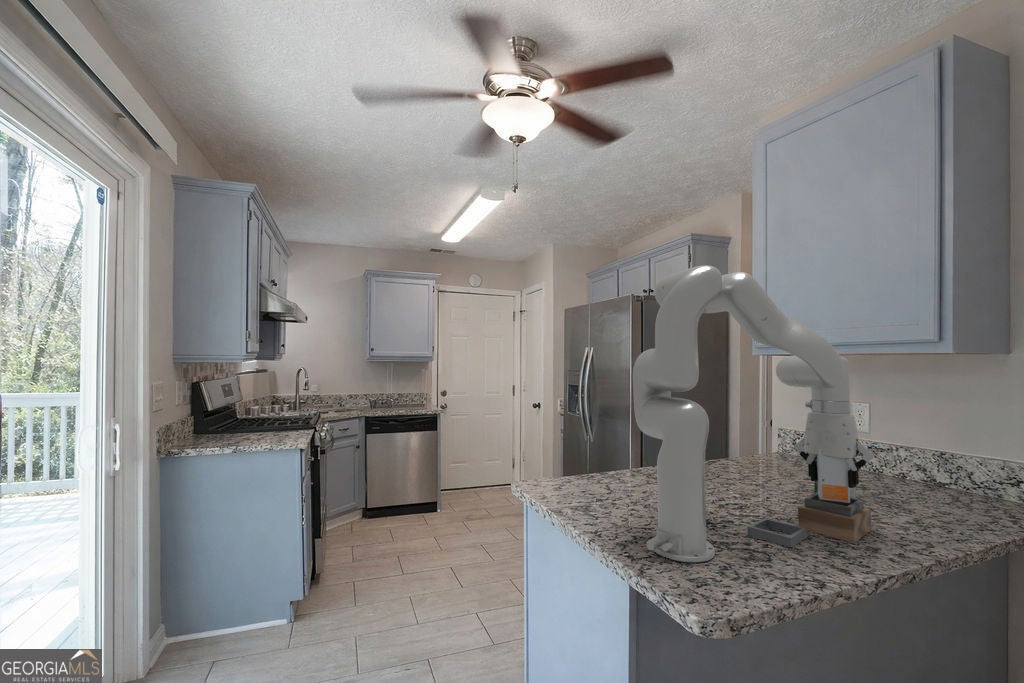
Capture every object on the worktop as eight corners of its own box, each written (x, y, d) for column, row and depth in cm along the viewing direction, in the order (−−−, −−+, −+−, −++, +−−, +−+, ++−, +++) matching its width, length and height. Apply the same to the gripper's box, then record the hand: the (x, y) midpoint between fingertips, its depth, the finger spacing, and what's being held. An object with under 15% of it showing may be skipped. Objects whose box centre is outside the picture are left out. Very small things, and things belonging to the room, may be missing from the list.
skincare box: (819, 500, 109) (817, 448, 109) (817, 495, 112) (815, 445, 113) (851, 503, 106) (848, 450, 106) (848, 498, 110) (845, 447, 110)
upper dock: (854, 542, 101) (853, 510, 101) (798, 528, 110) (797, 498, 110) (871, 530, 108) (870, 500, 109) (817, 518, 117) (816, 489, 117)
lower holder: (791, 547, 98) (790, 538, 98) (747, 535, 106) (747, 526, 106) (807, 537, 104) (807, 528, 104) (765, 526, 111) (765, 517, 111)
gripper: (784, 406, 115) (786, 479, 114) (870, 412, 101) (873, 494, 100) (796, 404, 119) (798, 474, 118) (880, 409, 106) (883, 489, 105)
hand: (833, 483), depth 109 cm, fingers closed on skincare box, 7 cm apart
